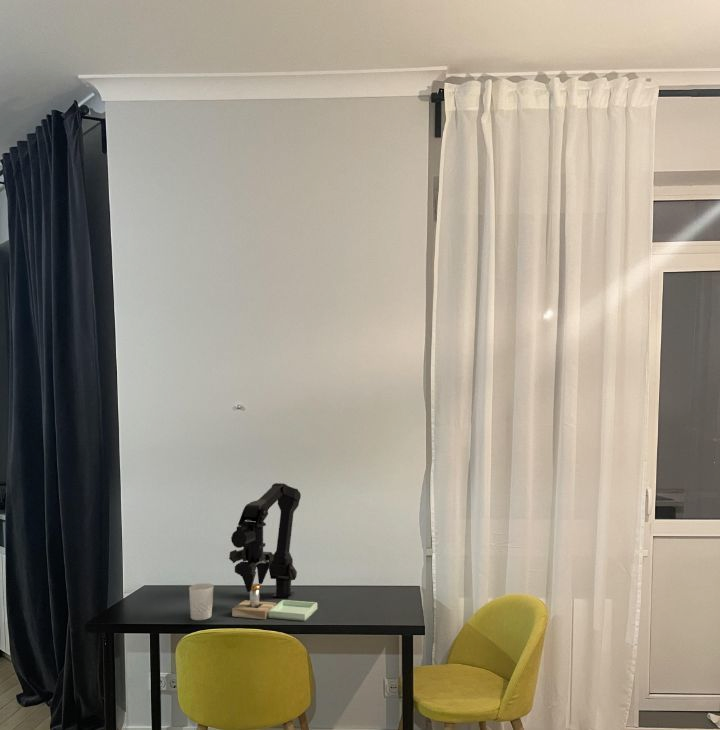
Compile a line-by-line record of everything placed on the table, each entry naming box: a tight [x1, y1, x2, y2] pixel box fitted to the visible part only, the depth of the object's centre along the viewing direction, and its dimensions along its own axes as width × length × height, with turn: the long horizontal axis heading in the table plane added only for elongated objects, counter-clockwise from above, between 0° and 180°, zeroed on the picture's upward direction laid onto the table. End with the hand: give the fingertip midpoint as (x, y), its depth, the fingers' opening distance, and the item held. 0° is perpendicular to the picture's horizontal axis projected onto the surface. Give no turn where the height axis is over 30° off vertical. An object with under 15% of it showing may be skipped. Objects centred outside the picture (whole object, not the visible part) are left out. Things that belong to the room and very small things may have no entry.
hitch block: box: [231, 599, 277, 620], centre depth 200 cm, size 9×12×2 cm
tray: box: [267, 599, 318, 622], centre depth 199 cm, size 12×13×2 cm
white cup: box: [188, 582, 214, 621], centre depth 197 cm, size 8×8×10 cm
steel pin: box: [249, 583, 262, 608], centre depth 200 cm, size 4×4×9 cm
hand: (254, 587), depth 200 cm, fingers open, 9 cm apart
